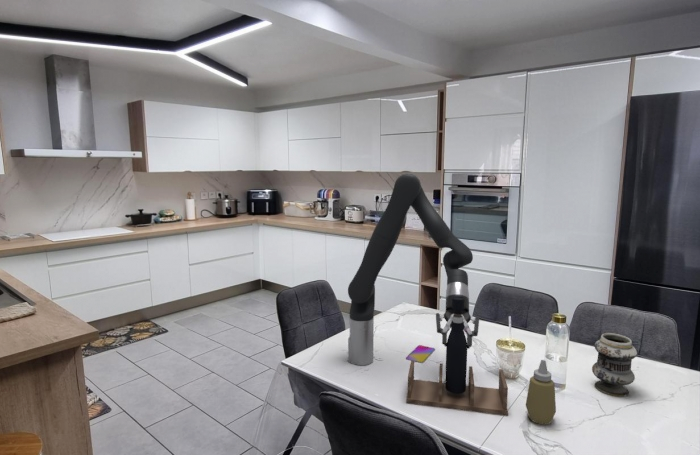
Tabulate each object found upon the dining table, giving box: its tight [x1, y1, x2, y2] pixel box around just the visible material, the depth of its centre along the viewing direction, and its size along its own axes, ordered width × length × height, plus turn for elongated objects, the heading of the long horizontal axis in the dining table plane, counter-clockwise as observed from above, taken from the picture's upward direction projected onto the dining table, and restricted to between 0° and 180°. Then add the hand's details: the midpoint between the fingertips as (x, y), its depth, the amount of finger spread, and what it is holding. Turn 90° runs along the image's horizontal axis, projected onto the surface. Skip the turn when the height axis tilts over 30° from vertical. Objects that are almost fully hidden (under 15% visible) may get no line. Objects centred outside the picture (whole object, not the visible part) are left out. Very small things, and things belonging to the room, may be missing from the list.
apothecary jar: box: [591, 332, 638, 397], centre depth 136 cm, size 12×12×18 cm
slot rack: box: [405, 360, 509, 417], centre depth 131 cm, size 30×13×8 cm, turn 77°
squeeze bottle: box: [525, 359, 557, 425], centre depth 119 cm, size 8×8×18 cm
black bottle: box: [444, 296, 468, 394], centre depth 130 cm, size 6×6×30 cm
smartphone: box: [405, 344, 436, 364], centre depth 165 cm, size 7×1×15 cm
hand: (457, 346), depth 128 cm, fingers closed on black bottle, 6 cm apart
